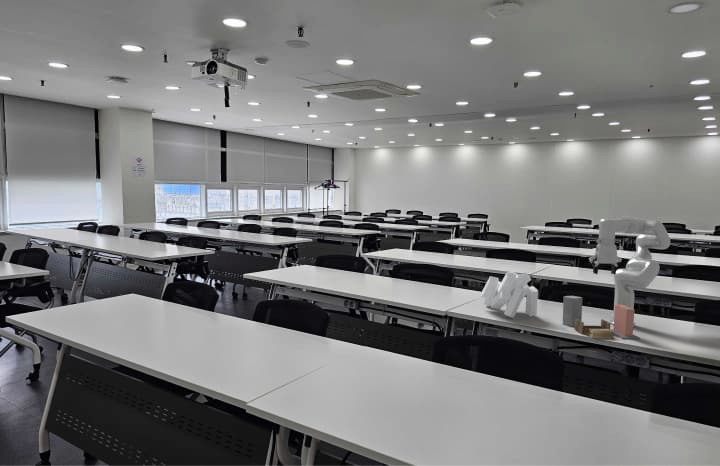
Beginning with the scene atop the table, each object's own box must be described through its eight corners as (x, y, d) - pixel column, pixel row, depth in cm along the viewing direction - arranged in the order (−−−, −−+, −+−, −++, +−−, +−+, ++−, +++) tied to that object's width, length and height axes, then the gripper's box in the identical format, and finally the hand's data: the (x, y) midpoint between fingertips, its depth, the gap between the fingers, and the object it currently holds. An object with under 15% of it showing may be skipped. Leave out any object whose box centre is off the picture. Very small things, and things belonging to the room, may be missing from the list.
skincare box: (572, 327, 245) (573, 298, 243) (560, 323, 251) (562, 296, 250) (582, 325, 249) (584, 297, 247) (571, 322, 255) (572, 294, 254)
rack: (574, 329, 239) (575, 318, 239) (602, 330, 239) (603, 319, 239) (581, 333, 232) (581, 322, 232) (609, 334, 232) (610, 323, 232)
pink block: (624, 336, 227) (626, 309, 226) (613, 330, 237) (615, 304, 236) (632, 336, 227) (634, 309, 226) (620, 330, 237) (622, 304, 236)
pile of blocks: (467, 318, 278) (475, 274, 259) (488, 293, 298) (496, 250, 279) (522, 344, 260) (535, 298, 241) (540, 316, 280) (553, 272, 261)
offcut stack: (587, 335, 230) (588, 328, 229) (608, 335, 230) (609, 328, 230) (591, 337, 226) (592, 330, 225) (613, 338, 226) (613, 331, 226)
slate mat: (606, 330, 239) (606, 329, 239) (623, 331, 239) (623, 329, 239) (622, 339, 225) (622, 337, 225) (639, 339, 225) (640, 337, 225)
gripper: (594, 242, 234) (592, 274, 236) (626, 243, 235) (624, 275, 236) (586, 241, 242) (584, 272, 243) (618, 241, 242) (616, 272, 243)
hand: (604, 273), depth 239 cm, fingers open, 9 cm apart
